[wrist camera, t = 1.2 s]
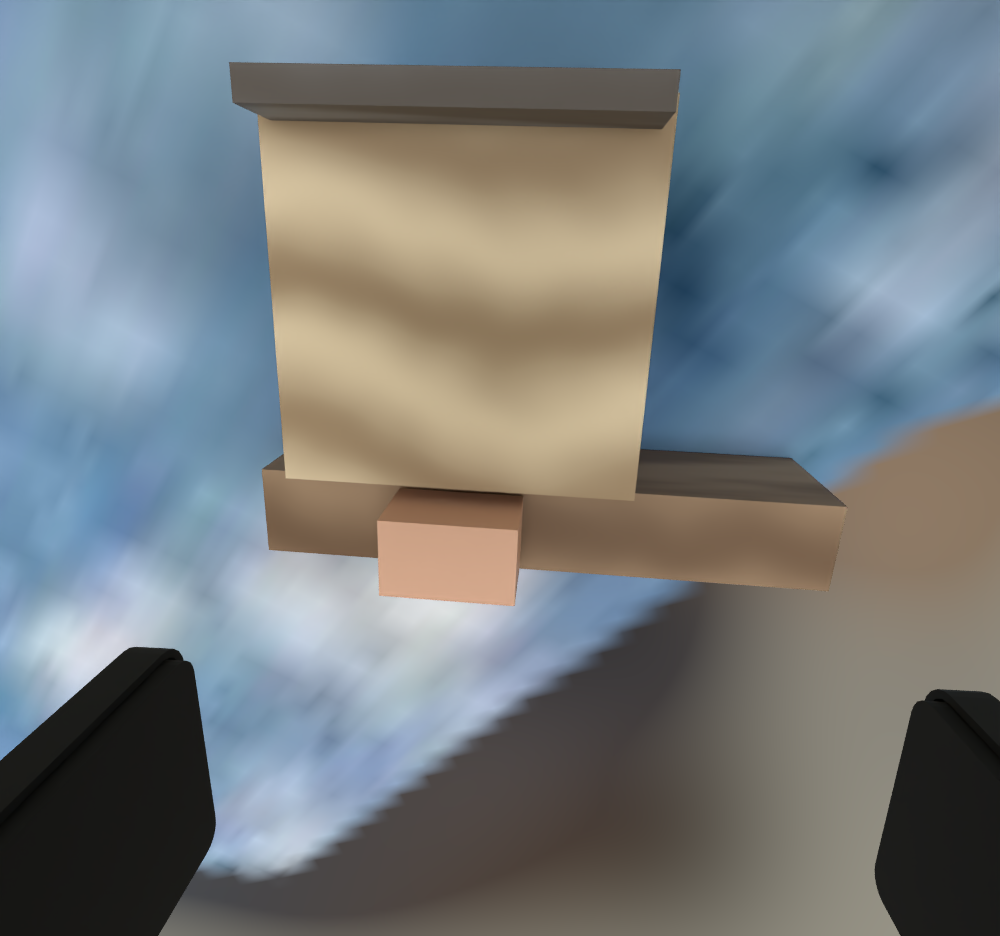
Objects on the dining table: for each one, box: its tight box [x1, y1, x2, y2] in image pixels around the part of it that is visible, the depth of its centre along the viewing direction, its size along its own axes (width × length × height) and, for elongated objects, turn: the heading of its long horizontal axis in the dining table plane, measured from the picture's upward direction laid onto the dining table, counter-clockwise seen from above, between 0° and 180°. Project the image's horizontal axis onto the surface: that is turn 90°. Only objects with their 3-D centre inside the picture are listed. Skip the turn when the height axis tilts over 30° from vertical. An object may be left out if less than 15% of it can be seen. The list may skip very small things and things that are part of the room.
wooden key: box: [377, 488, 523, 606], centre depth 29 cm, size 4×6×4 cm, turn 88°
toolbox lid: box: [229, 62, 681, 501], centre depth 25 cm, size 16×16×4 cm
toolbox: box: [262, 449, 848, 591], centre depth 32 cm, size 21×28×8 cm
